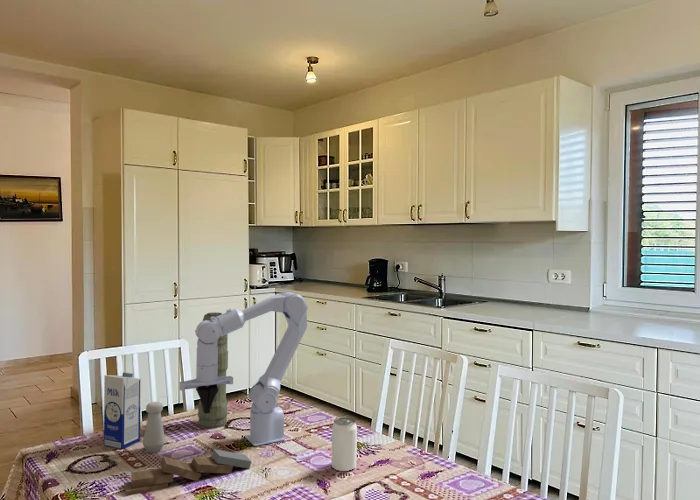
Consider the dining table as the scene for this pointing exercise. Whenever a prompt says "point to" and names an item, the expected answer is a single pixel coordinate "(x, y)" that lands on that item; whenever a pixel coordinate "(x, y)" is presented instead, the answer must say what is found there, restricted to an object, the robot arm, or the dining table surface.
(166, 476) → the domino
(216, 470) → the domino
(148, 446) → the salt shaker
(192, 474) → the domino
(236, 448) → the dining table surface
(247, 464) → the domino
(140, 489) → the domino
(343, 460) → the can
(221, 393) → the thermos
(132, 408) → the milk carton
